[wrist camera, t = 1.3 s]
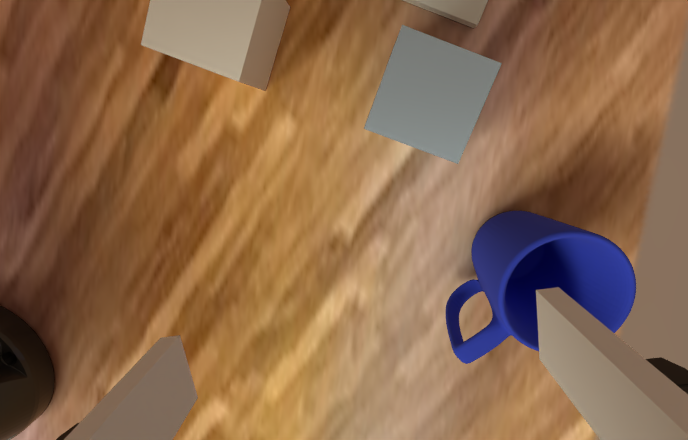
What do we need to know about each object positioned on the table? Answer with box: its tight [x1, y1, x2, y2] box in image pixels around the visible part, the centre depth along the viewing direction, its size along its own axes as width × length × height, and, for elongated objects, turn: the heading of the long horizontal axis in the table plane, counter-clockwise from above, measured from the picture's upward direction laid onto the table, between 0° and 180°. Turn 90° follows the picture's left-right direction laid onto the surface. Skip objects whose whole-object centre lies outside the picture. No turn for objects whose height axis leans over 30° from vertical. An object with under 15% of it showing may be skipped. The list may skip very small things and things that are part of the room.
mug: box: [446, 211, 636, 364], centre depth 29 cm, size 8×12×10 cm
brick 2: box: [364, 25, 502, 164], centre depth 28 cm, size 6×6×7 cm
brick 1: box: [141, 0, 290, 91], centre depth 27 cm, size 6×6×7 cm
